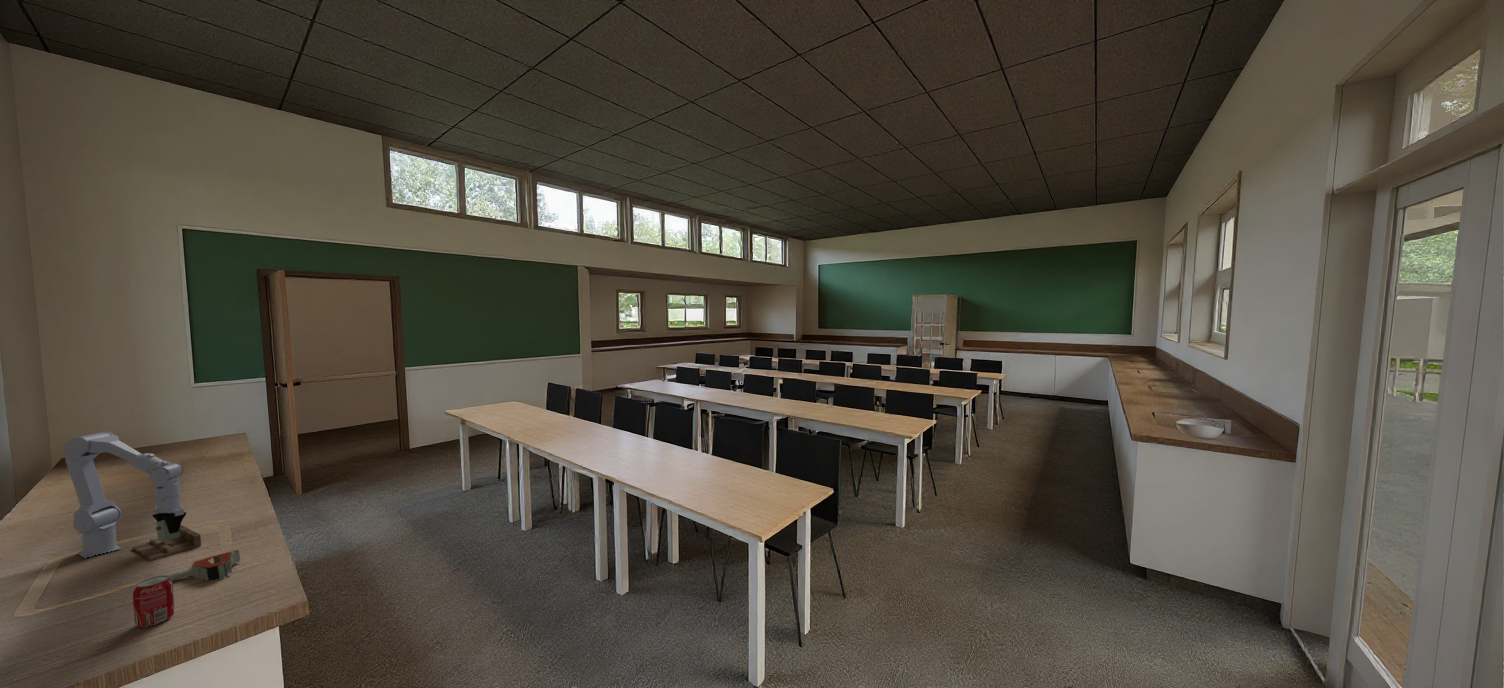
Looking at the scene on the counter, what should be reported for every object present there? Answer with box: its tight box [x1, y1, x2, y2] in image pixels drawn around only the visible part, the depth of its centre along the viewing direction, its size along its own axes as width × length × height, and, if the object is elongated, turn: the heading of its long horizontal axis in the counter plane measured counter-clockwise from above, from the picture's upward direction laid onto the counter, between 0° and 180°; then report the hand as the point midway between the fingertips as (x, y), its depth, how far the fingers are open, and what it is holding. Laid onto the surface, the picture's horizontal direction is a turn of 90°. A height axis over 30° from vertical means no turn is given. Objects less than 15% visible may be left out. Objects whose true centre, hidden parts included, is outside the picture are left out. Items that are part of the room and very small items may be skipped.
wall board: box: [132, 524, 202, 561], centre depth 177 cm, size 20×12×4 cm, turn 64°
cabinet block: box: [155, 520, 180, 542], centre depth 176 cm, size 4×5×7 cm
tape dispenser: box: [165, 549, 241, 582], centre depth 158 cm, size 18×5×20 cm
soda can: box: [132, 574, 175, 628], centre depth 133 cm, size 7×7×12 cm
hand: (170, 531), depth 177 cm, fingers closed on cabinet block, 4 cm apart
